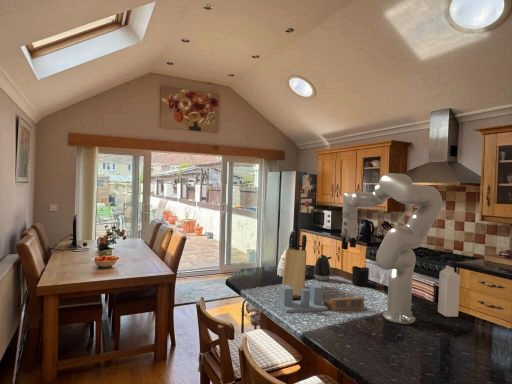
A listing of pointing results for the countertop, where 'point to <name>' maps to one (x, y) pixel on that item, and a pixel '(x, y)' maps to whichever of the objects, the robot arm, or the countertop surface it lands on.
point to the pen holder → (360, 276)
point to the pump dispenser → (322, 268)
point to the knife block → (295, 266)
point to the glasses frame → (345, 303)
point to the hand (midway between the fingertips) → (348, 248)
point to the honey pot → (281, 264)
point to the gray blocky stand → (302, 299)
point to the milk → (448, 292)
